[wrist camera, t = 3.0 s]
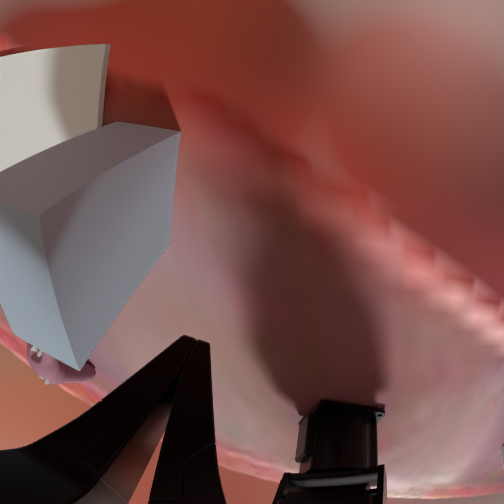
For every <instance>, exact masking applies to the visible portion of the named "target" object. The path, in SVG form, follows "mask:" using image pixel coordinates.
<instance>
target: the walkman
mask: <svg viewBox="0 0 504 504" xmlns="http://www.w3.org/2000/svg"><path fill="white" fill-rule="evenodd" d="M500 451H501V457H502V462H503V468H504V445H502V448H501V449H500Z"/></svg>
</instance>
